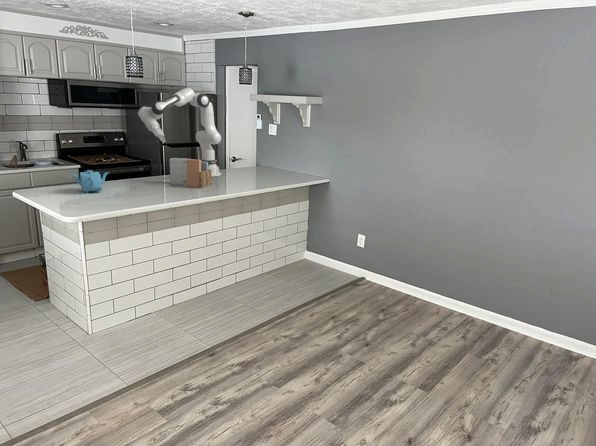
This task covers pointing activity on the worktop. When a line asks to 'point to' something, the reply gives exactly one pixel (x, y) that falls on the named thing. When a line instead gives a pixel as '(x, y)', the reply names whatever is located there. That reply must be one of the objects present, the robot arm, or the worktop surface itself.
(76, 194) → the worktop surface
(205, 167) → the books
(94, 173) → the teakettle
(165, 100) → the robot arm
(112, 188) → the worktop surface
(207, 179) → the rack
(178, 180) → the hard drive box
